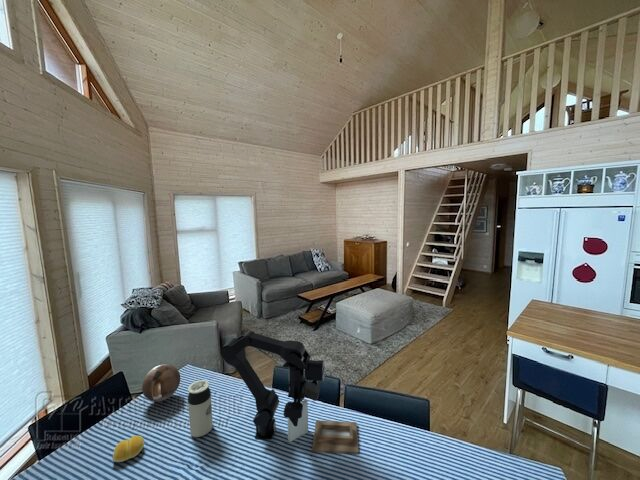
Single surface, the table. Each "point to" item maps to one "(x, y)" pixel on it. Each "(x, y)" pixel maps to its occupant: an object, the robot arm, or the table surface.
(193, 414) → the travel mug
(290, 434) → the external hard drive
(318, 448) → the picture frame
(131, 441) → the bread roll
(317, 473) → the table surface
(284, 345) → the robot arm
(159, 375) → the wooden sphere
